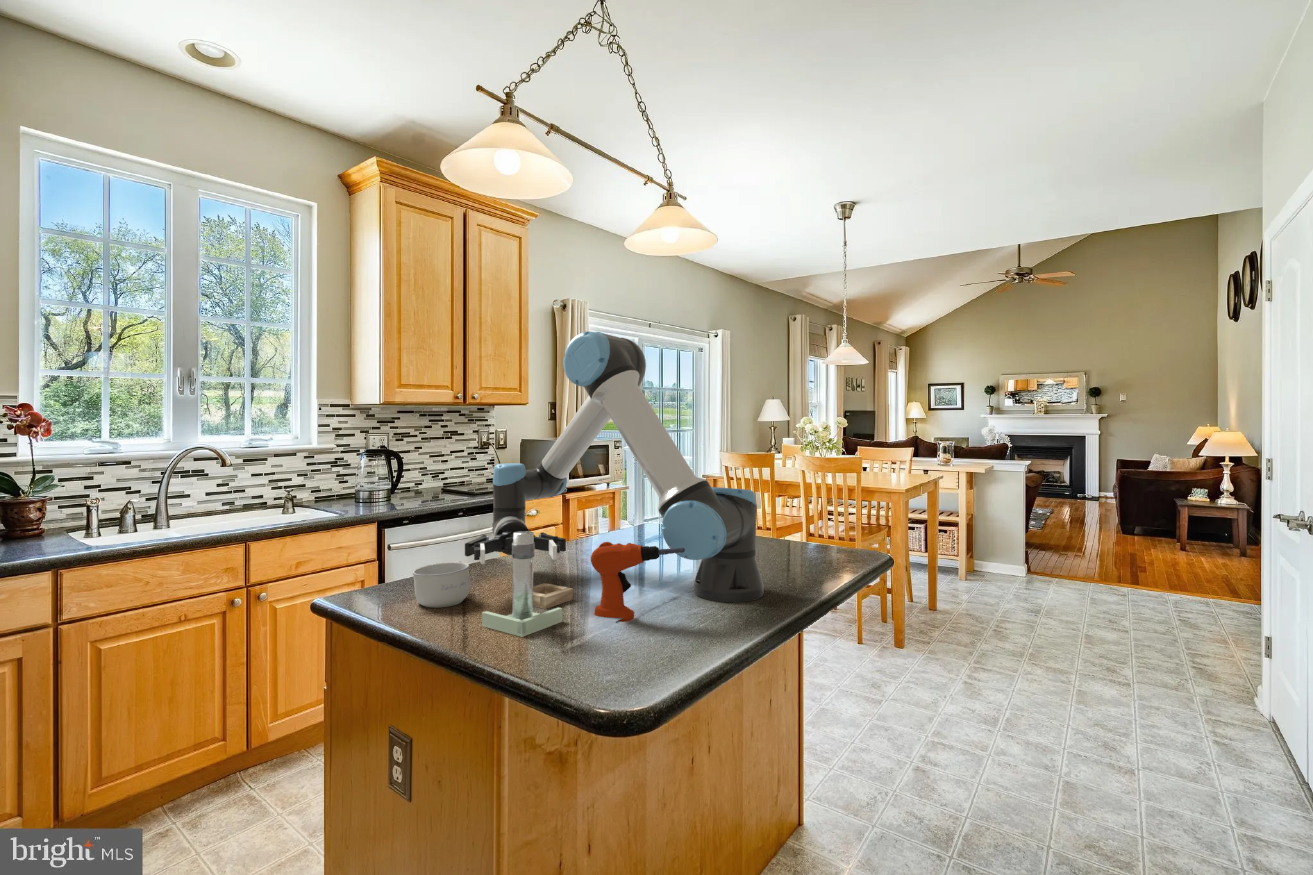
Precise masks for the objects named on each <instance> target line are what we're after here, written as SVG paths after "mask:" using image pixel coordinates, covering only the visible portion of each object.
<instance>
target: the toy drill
mask: <svg viewBox="0 0 1313 875" xmlns="http://www.w3.org/2000/svg"><path fill="white" fill-rule="evenodd" d="M679 552H680V553H683V552H685V548H683V547H682V548H672V549H670V548H661V549H660V548H659V546H656V545H654V546H651V545H650V546H648V545H646V546H645V545H644V546H643V545H639V544H635V543H631V542H628V543H626V544H622V543H621V542H619V543H618V542H617V543H612V542H611V541H603V542H601V543H600V544H599V546H598V547H597V548H595V549H594V550H593V551H592V553H591V555H590V563H591V566H592V568H594V570H595V571H596V572H597V573H598V574H599V575H600V581H601V598H600V602H599V603H600V604H598V605H596V606H595V607H594V612H593V615H594V616H596V617H598V618H599V617H600V618H609V619H610V618H611V619H618V620H616V621H615V623H625V622H626V623H627V622H631V621H633V620H634V618H635V611H634V610H633V609H631V608H629V606H626V605H625V600H624V599H625V598H624V593H626V592H627V591H628V590H629V589H630V588H631V587H632V584H631V583H630V582H629V581H628V579H627V577H626V574H625V573H624V572H622V571H625V570H628V569H630V568H633V567H637V566H638V565H640V564H644V562H647V561H648V562H649V561H651V560H657V559H659V558H660V556H661V555H662V556H666V555H669V554H670V555H671V554H672V555H673V554H676V553H679Z"/></svg>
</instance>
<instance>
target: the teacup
mask: <svg viewBox="0 0 1313 875" xmlns="http://www.w3.org/2000/svg"><path fill="white" fill-rule="evenodd" d="M469 568H470V564H469V563H466V562H462V561H461V560H455V561H449V562H439V563H432V564H428V565H424V566H420V567H417V568H416V569H414V570H412V576H413V586H414V596H415V599H416V601H417V603H419V604H420V605H421V606H423V607H424V608H425V607H426V608H435V609H437V608H448V607H453V606H457V605H459V604H461V603H462V602H463V601H464V600H466V598H467V596H468V595H469V592H470V573H469V571H470V569H469Z"/></svg>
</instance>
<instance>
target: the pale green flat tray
mask: <svg viewBox="0 0 1313 875" xmlns="http://www.w3.org/2000/svg"><path fill="white" fill-rule="evenodd" d="M481 616H482V617H481V625H482V626H481V627H484V628H488V629H492V630H495V631H499V632H503V633H505V634H510V635H513V636H516V637H520V638H523V637H525V636H528V635H530V634H533V633H536V632H539V631H542V630H544V629H547V628H549V627H552V626H555V625H557V624H560V623H563V608H561V607H555V608H551V609H550V610H547V611H544V612H541V613H538V612H534V611H533V616H532V617H530V618H527V619H524V620H520V619H516V618H512V613H511V614H507V615H504V614H499V613H495V612H491V611H488V610H486V611H482V613H481Z"/></svg>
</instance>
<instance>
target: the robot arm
mask: <svg viewBox="0 0 1313 875" xmlns="http://www.w3.org/2000/svg"><path fill="white" fill-rule="evenodd" d="M562 364H563V369H564V370H563V371H564V373H565V375H566V377H567V379H568V380H569V381H570V382H571V383H573V384H574V385H575V386H578V387H583V388H584V390H585V392H586V393H587V394H588V395H587V397H586V399H585V400H584V402H582V405H581V406H580V407H579V409H578V410H577V411H576V413H575V414H574V415H573V417H572V419H571V420H570V421H569V422H568V424H567V425H566V427H565V428H564V430H563V431H562V432H561V433H560V435H559V436H558V438H557V439H556V441H555V442H554V443H553V445H552V446H551V447H550V449H549V450H548V451H547V453H546V454H545V456H544V457H543V459H542V460H541V461H540V463H539V464H538V465H537V466H536V468H533V469H526V466H525V464H523V463H519V462H518V463H516V462H515V463H514V462H511V463H510V462H508V463H506V462H505V463H503V462H502V463H498V464H495V466H494V468H493V474H492V475H493V476H492V477H493V478H492V484H493V485H492V487H493V488H492V489H493V490H492V493H493V497H492V498H493V500H492V501H493V505H492V506H493V511H492V525H491V526H492V528H491V529H492V530H491V531H492V534H493V536H494V537H493V538H490V536H488V535H487V534H483V535H481V536H479V537H478V538H475V539H473V540H470V541H468V542H465V543H464V556H465V557H471V556H473V561H474V560H475V561H479V560H480V565H485V564H486V555H487V554H491V553H494V552H496V553H503V554H504V555H508V556H512V543H513V533H514V532H520V531H530V529H529V528H528V527H527V524H526V502H527V501H531V500H539V499H547V498H554V497H555V496H559V495H561V494H562V493H564V491H565V490H566V488H567V483H568V478H567V477H568V476H569V474H570V473H571V471H572V470H573V468H575V466H576V465H577V463H578V462H579V461H580V459H581V458H582V457H583V456H584V454H585V453H586V452H587V450H588V449H589V447H590V446H591V445H592V443H593V442H595V439H596V438H597V437H598V435H599V434H600V433H601V431H602V430H603V429H604V428H605V426H606V425H607V423H608V422H609V421H610V419H611V420H612V422H613V424H614V425H615V427H616V428H617V430H618V432H619V434H620V435H621V437H622V439H623V441H624V442H625V444H626V445H627V447H628V448H629V450H630V452H631V454H632V455H633V457H634V459H635V460H636V461H637V462H636V463H638V465H639V467H640V469H641V470H642V471H643V474H644V475H645V476H646V478H647V480H648V482H649V483H650V485H651V486H652V488H653V490H654V491H655V493H656V495H657V497H658V498H659V502H658V507H657V510H658V513H659V514H660V516H661V517H662V521H661V522H662V527H661V532H662V533H661V534H662V536H663V539H664V542H665V543H666V545H667V547H668V549H672V548H682V547H683V548H685V552H683V553H680V552H679V553H675V554H676V555H677V556H678V557H680V558H682V559H686V560H690V561H700V562H699V566H698V569H697V572H696V576H695V578H694V583H693V592H694V594H695V595H696V596H698V597H700V598H701V599H702V598H703V599H705V600H709V601H716V602H722V603H723V602H725V603H726V602H727V603H741V602H743V603H744V602H751V601H754V600H758V599H760V598H762V597H763V596H764V595H763V594H764V593H765V592H764V588H765V586H764V582H763V577H762V574H761V572H760V569H759V568H760V567H759V565H758V562H757V557H756V556H757V555H756V553H757V552H756V551H757V548H756V547H757V508H758V504H757V496H756V493H755V492H754V491H753V490H751V489H745V488H744V489H743V488H734V487H733V488H732V487H729V488H728V487H717V486H716V487H715V486H713V487H712V486H711V485H710V483H709V481H708V479H705V478H701V477H699V476H696V475H695V473H694V472H693V470H692V469H691V467H690V465H689V464H688V462H687V461H686V459H685V458H684V456H683V454H682V453H681V451H680V450H679V448H678V447H677V445H676V443H675V442H674V440H673V439H672V437H671V435H670V434H669V432H668V430H667V429H666V427H665V426H664V424H663V422H662V421H661V420H660V418H659V416H658V415H657V414H656V412H655V410H654V408H653V406H652V405H651V404H650V402H649V401H648V399H647V397H646V395H645V394H644V393H643V391H642V390H641V388H640V386H641V385H642V383H643V381H644V380H643V379H644V377H645V376H646V375H645V374H646V370H647V363H646V358H645V355H644V352H643V350H642V349H641V347H640V346H639V345H638V344H636V342H634V341H633V340H631V339H628V338H626V337H619V336H614V335H611V334H607V333H603V332H600V331H597V330H595V331H591V330H590V331H583V332H579V333H578V334H577V335H575V336H574V337H573V338H572V339H571V340H570V341H569V343H568V344H567V347H566V348H565V350H564V357H563V362H562ZM534 542H535V551H536V550H538V551H544V552H548V554H549V556H550V557H551V559H552V560H553V561H556V560H558V554H560V553H561V552H566V551H567V538H565V537H564V538H563V537H560V536H558V535H556V536H555V535H550V534H547V533H545V532H540V533H539V534H538V536H535V534H534Z"/></svg>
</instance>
